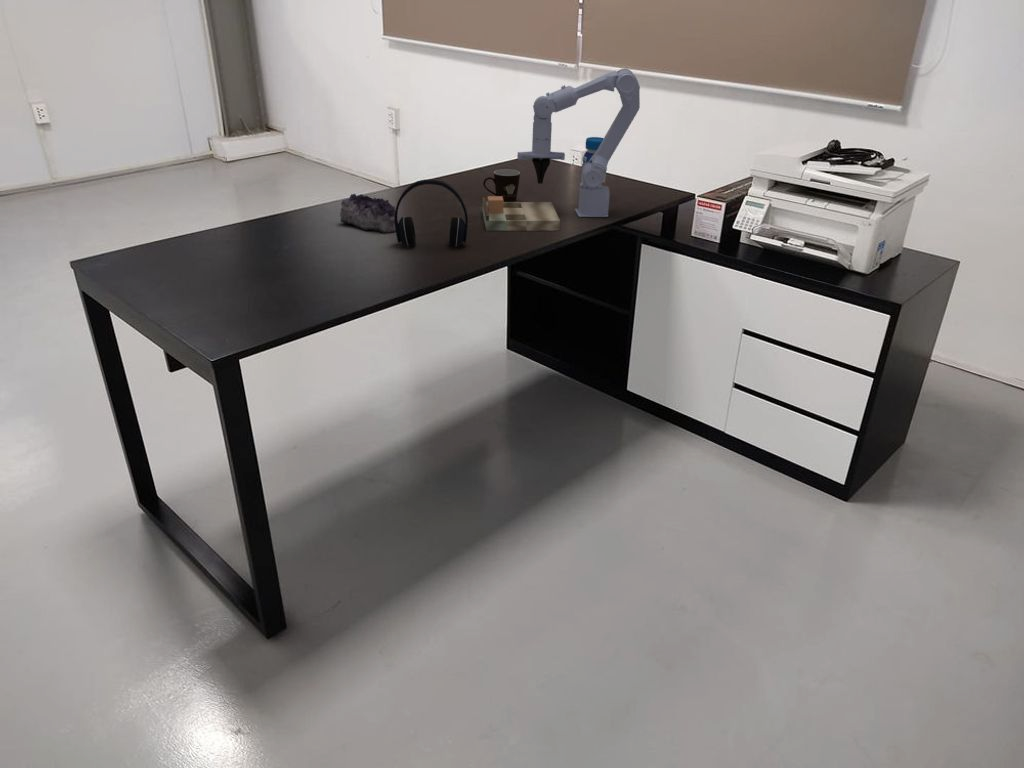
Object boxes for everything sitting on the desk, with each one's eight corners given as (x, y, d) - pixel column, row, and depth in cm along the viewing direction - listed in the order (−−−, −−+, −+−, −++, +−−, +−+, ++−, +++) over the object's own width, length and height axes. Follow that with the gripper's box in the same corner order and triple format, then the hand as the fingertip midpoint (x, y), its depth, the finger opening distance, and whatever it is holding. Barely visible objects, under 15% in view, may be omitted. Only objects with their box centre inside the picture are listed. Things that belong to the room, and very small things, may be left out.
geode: (411, 227, 230) (408, 195, 224) (385, 242, 223) (380, 209, 217) (362, 212, 240) (357, 181, 234) (335, 225, 232) (329, 194, 226)
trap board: (550, 211, 248) (551, 197, 246) (559, 230, 230) (560, 215, 228) (482, 211, 246) (482, 197, 244) (486, 230, 228) (486, 215, 226)
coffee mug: (520, 200, 259) (521, 170, 254) (518, 207, 251) (518, 176, 246) (486, 198, 259) (486, 168, 255) (482, 205, 252) (482, 174, 247)
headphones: (395, 249, 212) (391, 183, 203) (397, 241, 218) (393, 176, 209) (467, 249, 213) (467, 183, 204) (467, 241, 219) (467, 177, 210)
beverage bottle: (604, 196, 265) (609, 136, 255) (604, 203, 257) (609, 142, 248) (579, 195, 266) (583, 135, 256) (578, 202, 258) (583, 140, 248)
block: (502, 209, 238) (502, 196, 236) (503, 213, 234) (503, 200, 232) (487, 209, 238) (487, 196, 236) (488, 213, 234) (488, 200, 232)
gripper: (563, 135, 240) (560, 179, 246) (516, 135, 238) (515, 179, 245) (566, 140, 233) (564, 185, 240) (519, 140, 232) (517, 185, 239)
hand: (539, 182), depth 242 cm, fingers closed
